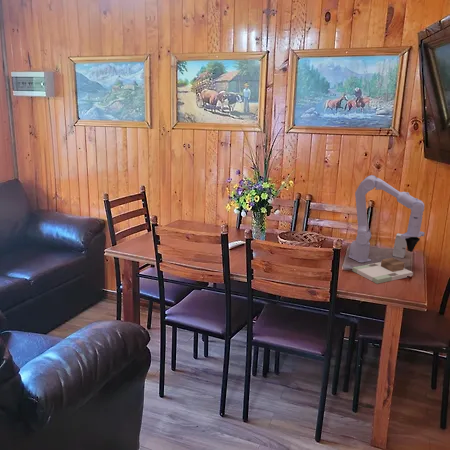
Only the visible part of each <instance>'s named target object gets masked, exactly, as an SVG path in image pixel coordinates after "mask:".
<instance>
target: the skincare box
mask: <svg viewBox="0 0 450 450" xmlns="http://www.w3.org/2000/svg"><path fill="white" fill-rule="evenodd" d="M402 234H403V233H396V235H395V240H394V245H393V250H392V257H394V258H395V257H396V258H400V259H401V258H402V259H404V258H405V256H406V251H407V243H406V240H405V239H401V235H402Z"/></svg>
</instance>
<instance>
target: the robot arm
mask: <svg viewBox="0 0 450 450" xmlns="http://www.w3.org/2000/svg"><path fill="white" fill-rule="evenodd" d="M374 189H375V191H378V190H382V191H384V192H386V194H387V193H388V194H389V195H391V196H393V197H394V198H396V202H397V203H398V204H401V205H402V206H404V207H405V208H407V209H410V210H411V211H410V214H409V219H408V224H407V228H406V229H407V231H406V232H404V233H401V234H402V235H401V239H405V240H406V243H407V247H406V251H408V252H411V253H412V252H413V251H414V249H415V247H416V246H417V244H418V243H419V242H420V240H421V239H420V238H421V237H425V232H424V231H421V229H422V228H421V227H422V223H423V222H422V221H423V215H424V211H425V203H424V201H422V199H419V198H417V197H416V198H415V197H414V196H412V195H410V192H408V191H407V192H406V191H399V190H398V189H396V188H394V187H393V186H392V185H391V184H389V183H387V182H386V181H384V180H383V179H381V178H380V177H377V176H376V175H374V174H371V175H368V176H366V177H365V178H364V179H363V180H362V181H361V182H360V183H359V185H358V186H357V188H356V190H355V192H354V193H355V194H354V196H355V206H356V208H355V209H356V217H357V218H356V220H357V229H356V232H357V235H356V237H355V240H353V241H352V242H351V244H350V247H349V254H348V256H347V258H350V259H352V260H354V261H356V262H358V263H359V264H360V263H367V262H371V261H372V259H371V258H369V255H370V254H369V253H370V249H371V248H370V247H371V242H370V240H371V238H372V232H371V230H370V228H369V227H370V226H369V224H368V223H369V222H368V214H367V213H368V211H367V209H368V208H367V201H366V199H367V198H366V197H367V196H366V195H367V193H369V192H370V191H372V190H374Z"/></svg>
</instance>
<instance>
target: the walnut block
mask: <svg viewBox="0 0 450 450" xmlns="http://www.w3.org/2000/svg"><path fill="white" fill-rule="evenodd" d="M380 262H381V267H383V268H385V269H388V270H390V271H392V272H394V271H399V270H403V269H404V268H405V262H404V261H401V260H400V259H399V260H398V259H397V258H395V257H390V258H384V259H381V261H380Z"/></svg>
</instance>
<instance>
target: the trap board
mask: <svg viewBox="0 0 450 450" xmlns="http://www.w3.org/2000/svg"><path fill="white" fill-rule="evenodd" d="M352 272H354V273H355V274H357V275H359V276H361V277H363V278H365V279H367V280H369V281H371V282H373V283H375V284H376V285H378V284H383V283H386V282H387V283H388V282H392V281H396V280H401V279H405V278H406V279H407V278H408V277H407V276H408V275H411V277H413V274H414V272H413V271H411V270H409V269H407V268H405V267H404V269H403V270H399V271H394V272H392V271H390V270H388V269H385V268H383V267H381V261H379V262H374V263H368V264H364V265H357V266H354V267H352Z"/></svg>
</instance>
